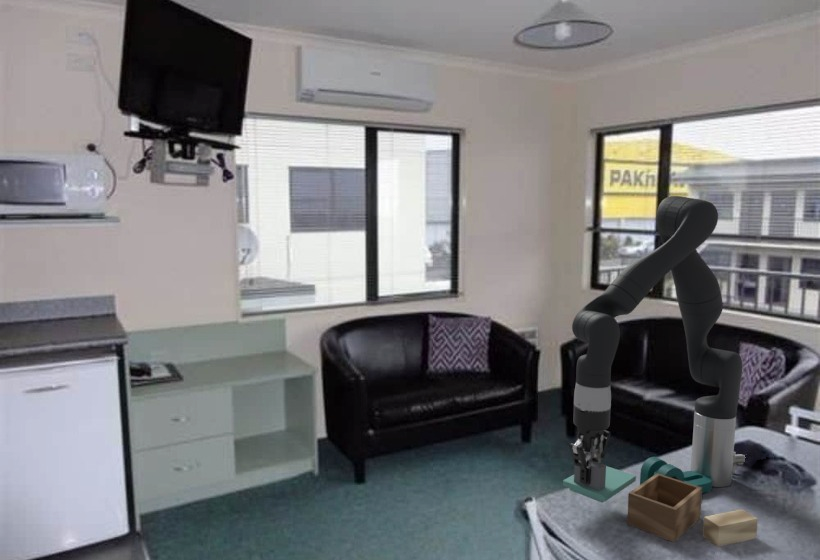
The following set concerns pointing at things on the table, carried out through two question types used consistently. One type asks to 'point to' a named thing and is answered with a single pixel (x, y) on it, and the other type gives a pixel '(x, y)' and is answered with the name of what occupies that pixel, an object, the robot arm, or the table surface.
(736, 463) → the caliper
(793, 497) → the table surface
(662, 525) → the open wooden box
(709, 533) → the pale wooden block
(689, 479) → the bracket
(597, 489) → the lid
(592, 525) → the table surface
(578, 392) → the robot arm
